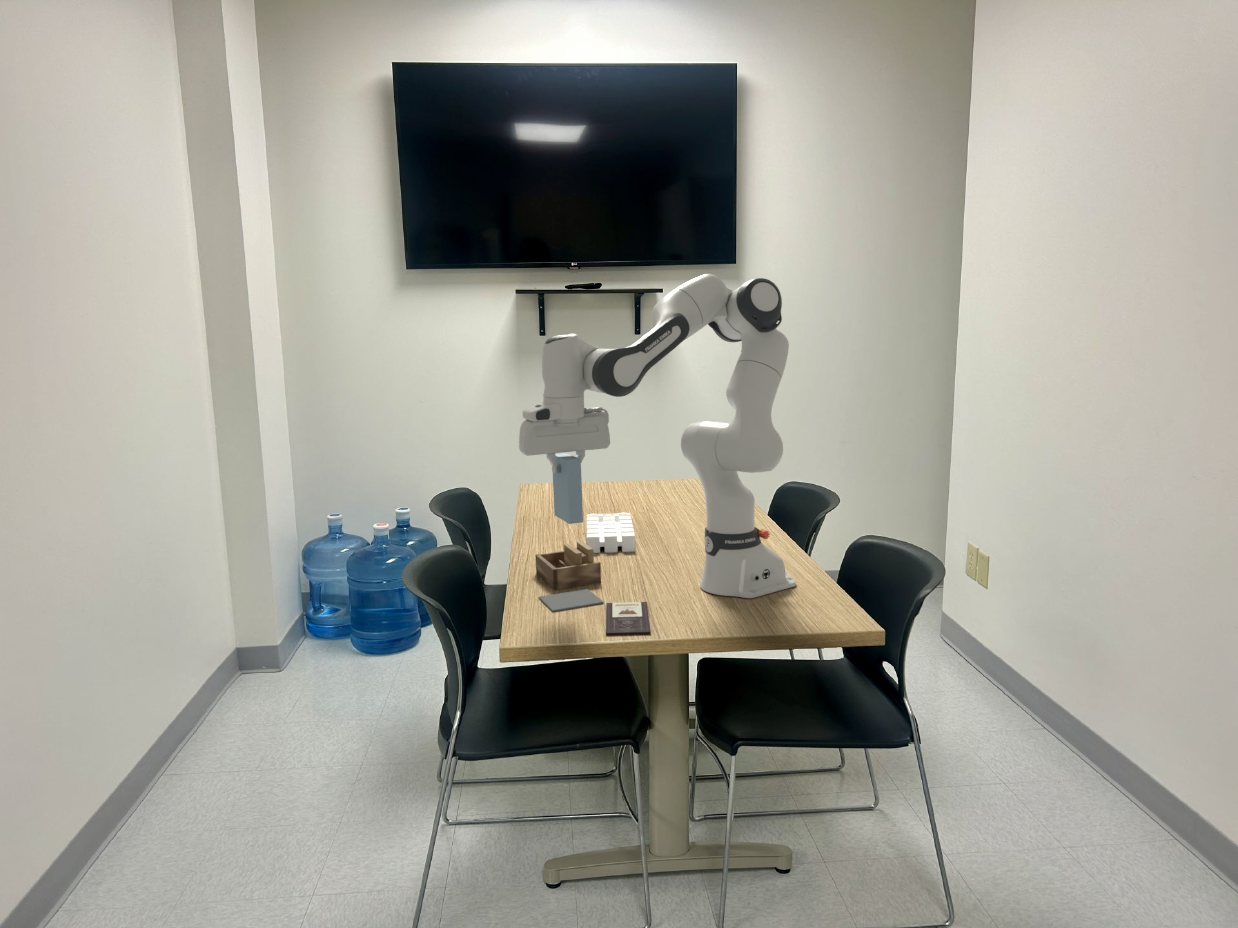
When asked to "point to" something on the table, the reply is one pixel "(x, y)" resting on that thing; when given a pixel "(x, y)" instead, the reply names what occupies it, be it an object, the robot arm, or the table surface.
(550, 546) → the table surface
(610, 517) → the organizer
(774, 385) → the robot arm
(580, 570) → the rack
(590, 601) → the mat
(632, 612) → the chocolate bar
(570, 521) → the light blue block
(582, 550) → the offcuts
